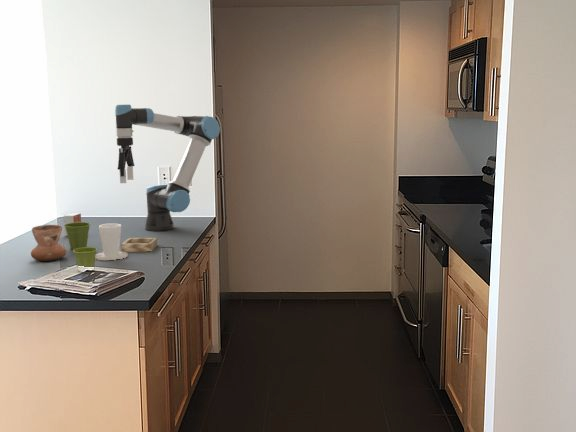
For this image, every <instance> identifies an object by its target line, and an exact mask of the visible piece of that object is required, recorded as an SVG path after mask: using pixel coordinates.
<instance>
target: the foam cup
mask: <svg viewBox="0 0 576 432" xmlns="http://www.w3.org/2000/svg"><path fill="white" fill-rule="evenodd" d="M98 232H99V236H100V240H101V246H102V252H103V253H104V256H117V255H119V251H120V250H121V249H120V246H121V236H122V235H121V234H122V224H121V223H103V224H100V225H98Z"/></svg>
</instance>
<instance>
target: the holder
mask: <svg viewBox="0 0 576 432" xmlns="http://www.w3.org/2000/svg"><path fill="white" fill-rule="evenodd" d="M120 246H121V251H122V252H126V253H131V252H132V253H133V252H134V253H135V252H137V253H138V252H140V253H141V252H144V253H145V252H146V251H151V252H153V250H154V249H156V247H158V238H157V237H128V238H127V239H125V240H124V241H123V242H122V243H120Z"/></svg>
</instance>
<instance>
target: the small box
mask: <svg viewBox="0 0 576 432" xmlns="http://www.w3.org/2000/svg"><path fill="white" fill-rule="evenodd" d="M62 217H63V230H64V236H65V237H68V235H67V231H66V228H65V226H64V225H65V224H68V223H75V222H82V214H81V213H78V212H76V213H74V212H73V213H72V212H71V213H68V214H66V215H65V214H64V215H63V216H62Z"/></svg>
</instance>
